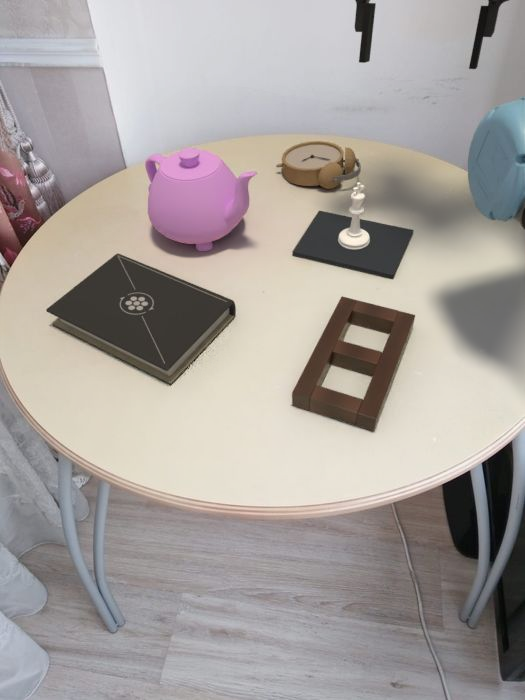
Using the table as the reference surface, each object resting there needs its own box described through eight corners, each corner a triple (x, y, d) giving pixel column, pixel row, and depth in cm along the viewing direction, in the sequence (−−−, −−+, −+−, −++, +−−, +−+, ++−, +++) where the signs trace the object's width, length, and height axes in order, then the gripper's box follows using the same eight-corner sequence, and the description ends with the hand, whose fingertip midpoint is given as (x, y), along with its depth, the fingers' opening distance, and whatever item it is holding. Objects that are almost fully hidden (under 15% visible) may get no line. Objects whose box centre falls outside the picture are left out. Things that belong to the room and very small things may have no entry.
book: (237, 315, 79) (235, 299, 77) (171, 385, 71) (167, 370, 69) (123, 267, 88) (118, 251, 86) (52, 325, 80) (45, 309, 77)
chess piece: (376, 242, 88) (383, 185, 80) (350, 253, 86) (355, 196, 79) (357, 227, 91) (362, 170, 83) (331, 237, 89) (335, 180, 82)
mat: (412, 234, 90) (413, 229, 90) (393, 279, 83) (393, 275, 82) (318, 214, 95) (319, 210, 94) (292, 255, 88) (292, 251, 87)
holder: (412, 328, 76) (415, 314, 74) (374, 432, 65) (376, 419, 63) (340, 309, 79) (341, 296, 77) (292, 405, 68) (291, 392, 66)
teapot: (286, 225, 93) (284, 147, 83) (232, 278, 85) (223, 198, 75) (182, 191, 102) (169, 116, 92) (124, 235, 93) (103, 159, 83)
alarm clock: (301, 137, 108) (372, 142, 100) (304, 161, 111) (373, 168, 103) (268, 163, 102) (341, 170, 94) (273, 188, 105) (344, 197, 97)
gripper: (577, -158, 59) (523, 68, 70) (345, -144, 67) (330, 57, 78) (581, -177, 53) (522, 73, 64) (327, -159, 61) (313, 61, 72)
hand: (416, 65), depth 71 cm, fingers open, 13 cm apart
